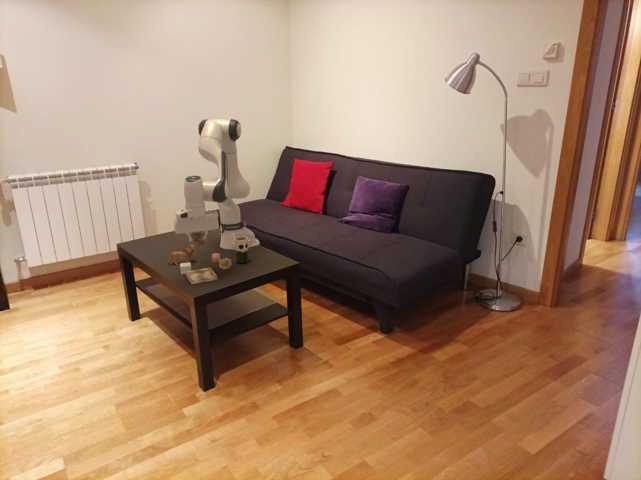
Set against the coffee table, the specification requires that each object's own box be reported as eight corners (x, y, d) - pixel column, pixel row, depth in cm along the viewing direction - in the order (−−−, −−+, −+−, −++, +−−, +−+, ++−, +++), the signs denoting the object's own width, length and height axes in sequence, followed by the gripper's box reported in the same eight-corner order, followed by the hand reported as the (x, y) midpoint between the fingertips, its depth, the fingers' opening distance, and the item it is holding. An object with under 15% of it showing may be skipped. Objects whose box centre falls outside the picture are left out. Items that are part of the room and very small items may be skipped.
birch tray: (210, 271, 239) (210, 267, 239) (217, 279, 229) (216, 275, 229) (186, 275, 234) (185, 271, 234) (191, 284, 224) (191, 280, 224)
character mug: (236, 266, 246) (234, 241, 241) (230, 262, 251) (228, 238, 247) (255, 261, 251) (253, 237, 247) (248, 257, 257) (247, 234, 253)
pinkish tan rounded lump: (219, 259, 255) (218, 252, 253) (221, 262, 251) (220, 254, 250) (211, 261, 253) (210, 253, 252) (213, 263, 250) (212, 256, 248)
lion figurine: (195, 259, 256) (193, 243, 253) (197, 262, 251) (196, 246, 249) (166, 264, 249) (164, 247, 247) (168, 267, 245) (166, 250, 242)
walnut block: (201, 242, 230) (201, 232, 229) (204, 245, 226) (203, 234, 225) (192, 243, 228) (191, 233, 227) (194, 246, 224) (193, 236, 223)
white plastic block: (191, 269, 242) (190, 262, 241) (191, 273, 237) (190, 265, 236) (180, 270, 241) (180, 263, 240) (180, 274, 236) (180, 266, 235)
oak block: (226, 265, 248) (226, 257, 246) (231, 267, 244) (231, 260, 243) (219, 267, 245) (218, 259, 244) (223, 269, 242) (223, 262, 240)
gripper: (216, 208, 230) (217, 236, 234) (171, 212, 221) (174, 241, 225) (219, 210, 225) (221, 239, 229) (174, 215, 216) (177, 245, 220)
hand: (197, 240), depth 227 cm, fingers closed on walnut block, 4 cm apart
